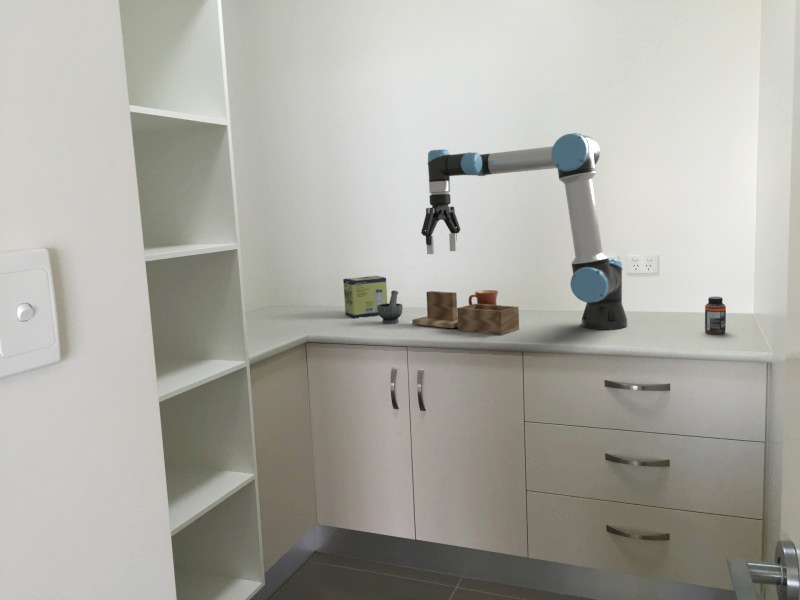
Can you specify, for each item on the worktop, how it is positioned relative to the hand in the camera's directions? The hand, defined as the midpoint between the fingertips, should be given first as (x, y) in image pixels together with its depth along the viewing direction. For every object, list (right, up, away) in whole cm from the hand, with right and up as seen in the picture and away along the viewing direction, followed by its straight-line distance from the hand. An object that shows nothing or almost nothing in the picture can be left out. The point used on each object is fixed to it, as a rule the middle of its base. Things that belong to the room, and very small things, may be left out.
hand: (442, 252), depth 246 cm
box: (+15, -28, -11) cm, 34 cm away
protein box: (-29, -24, +35) cm, 51 cm away
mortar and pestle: (-19, -26, +14) cm, 35 cm away
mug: (+17, -25, +13) cm, 32 cm away
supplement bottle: (+84, -28, -33) cm, 94 cm away
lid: (0, -26, +3) cm, 26 cm away
